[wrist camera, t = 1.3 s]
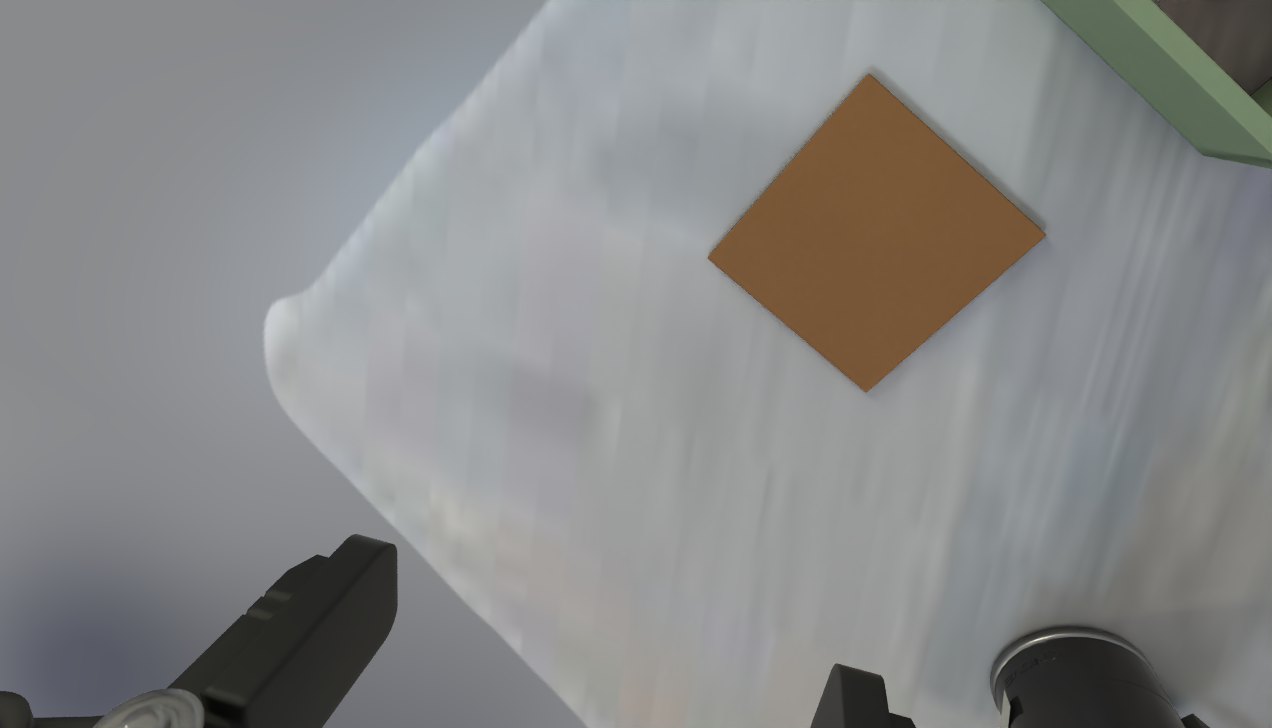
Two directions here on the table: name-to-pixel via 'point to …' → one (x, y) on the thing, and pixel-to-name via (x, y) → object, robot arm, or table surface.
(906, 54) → the table surface
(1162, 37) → the bin
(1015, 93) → the table surface
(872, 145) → the cork mat
